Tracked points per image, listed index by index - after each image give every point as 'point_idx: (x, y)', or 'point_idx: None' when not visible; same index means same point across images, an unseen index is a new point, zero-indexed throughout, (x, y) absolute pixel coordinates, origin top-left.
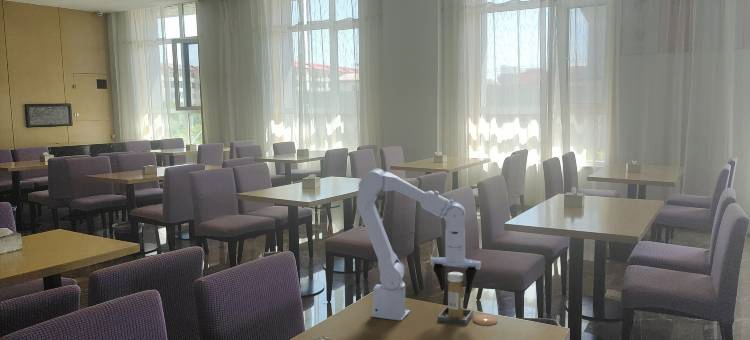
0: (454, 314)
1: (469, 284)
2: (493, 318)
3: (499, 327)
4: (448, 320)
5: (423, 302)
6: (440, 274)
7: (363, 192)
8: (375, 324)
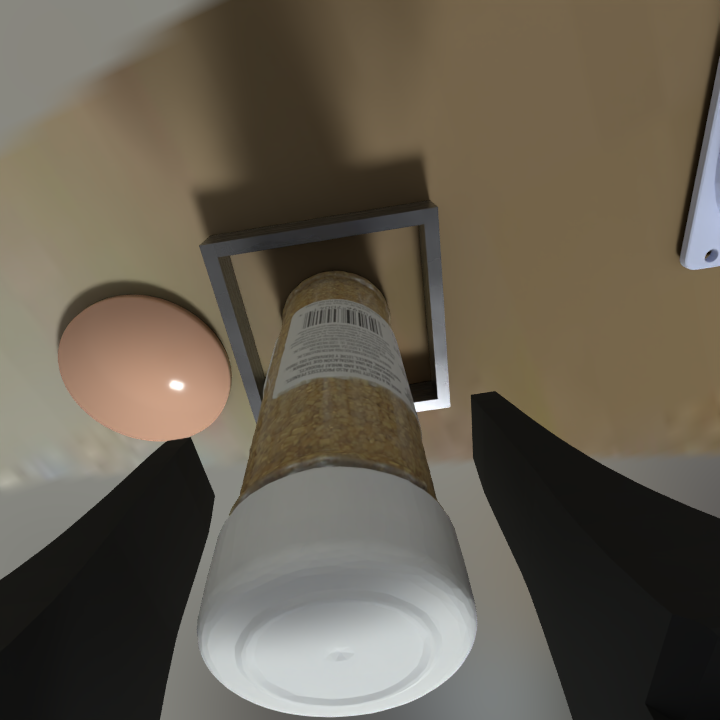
0: (321, 288)
1: (88, 515)
2: (108, 406)
3: (2, 313)
4: (343, 217)
5: (619, 448)
6: (602, 528)
7: None
8: None
